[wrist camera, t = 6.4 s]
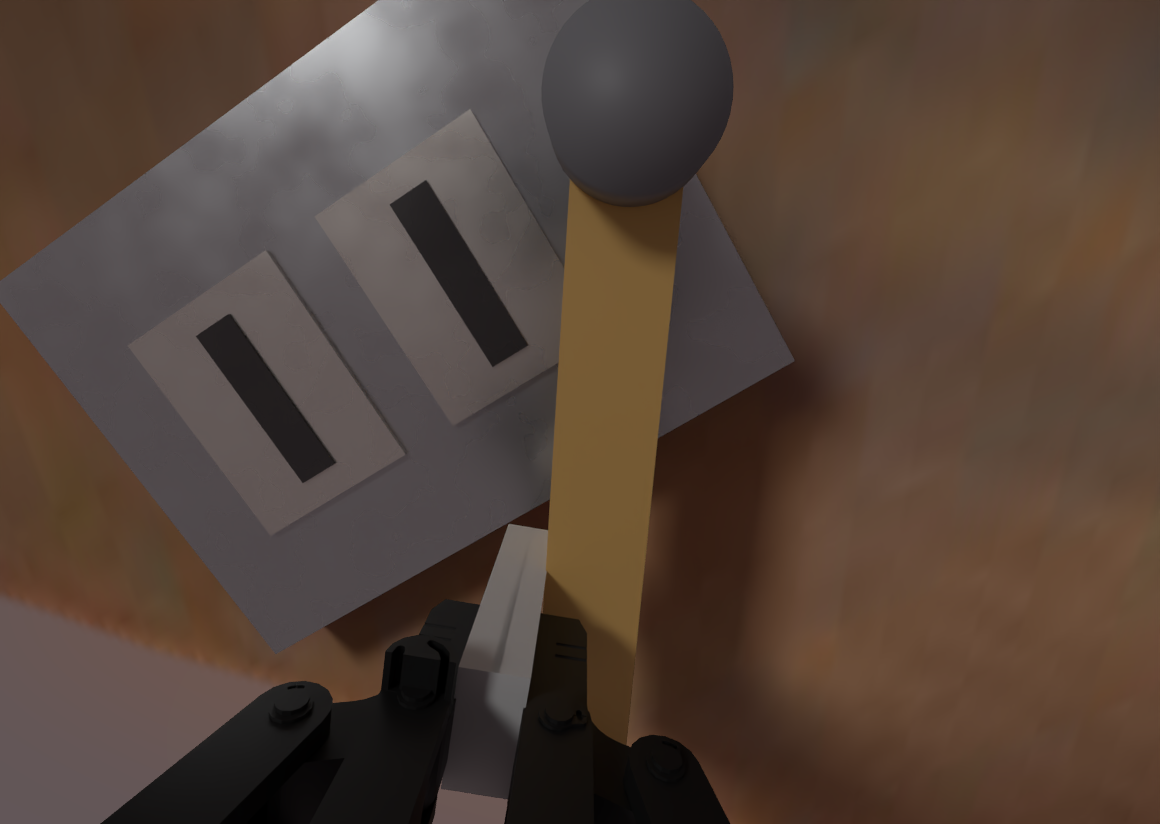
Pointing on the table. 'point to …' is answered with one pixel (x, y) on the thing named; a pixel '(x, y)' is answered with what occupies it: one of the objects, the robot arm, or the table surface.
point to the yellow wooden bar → (619, 300)
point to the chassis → (359, 311)
